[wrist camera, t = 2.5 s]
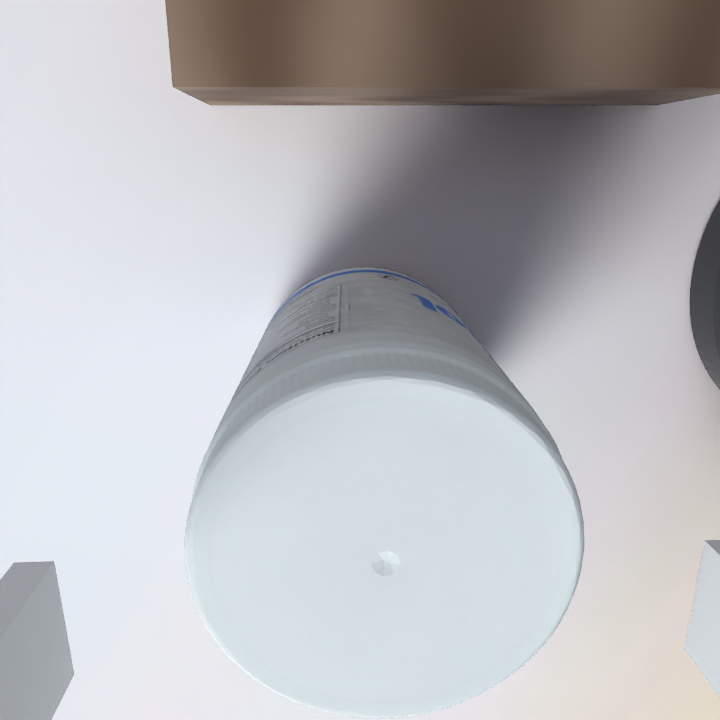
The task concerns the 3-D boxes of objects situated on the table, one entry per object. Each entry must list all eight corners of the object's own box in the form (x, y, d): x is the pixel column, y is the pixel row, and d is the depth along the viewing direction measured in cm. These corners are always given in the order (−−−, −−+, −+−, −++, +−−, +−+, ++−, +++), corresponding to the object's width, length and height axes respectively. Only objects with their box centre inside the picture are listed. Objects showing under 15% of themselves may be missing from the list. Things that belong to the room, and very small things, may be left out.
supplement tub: (511, 363, 28) (685, 556, 14) (367, 500, 30) (397, 791, 16) (356, 213, 26) (383, 270, 12) (211, 371, 28) (88, 580, 14)
